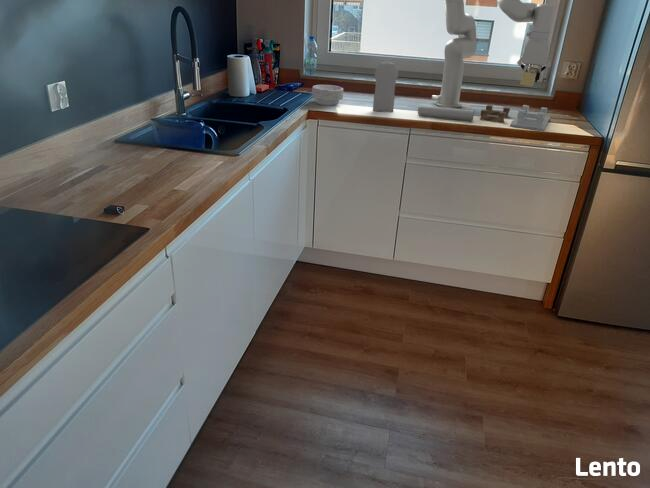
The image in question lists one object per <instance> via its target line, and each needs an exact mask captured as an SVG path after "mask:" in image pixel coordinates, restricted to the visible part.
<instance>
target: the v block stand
mask: <svg viewBox="0 0 650 488" xmlns="http://www.w3.org/2000/svg"><path fill="white" fill-rule="evenodd" d="M529 108H530V105H527V104H523V105H522V108H521V109H519V110H518V113H517V114H516V116H515V118H514V119H513V120H512V121H511V122H510V125H509V127H512V128H518V129H525V130H532V131H539V132H540V131H541V132H544V131H545V130H546V127H547V125H548V123H549V121H550V118H551V117H550V116H546V115H547V111H548V107H543V106H542V107H541V108H540V111H538V113H537V112H530V111H529Z"/></svg>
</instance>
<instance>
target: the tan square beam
mask: <svg viewBox="0 0 650 488" xmlns="http://www.w3.org/2000/svg"><path fill="white" fill-rule="evenodd" d="M537 71H538V66H535V65H529V68H528V72H526V71H523V72H522V75H521V79H520V82H519V85H521V86H527V87H531V88H532V87H533V85H534V83H535V78H536V73H537ZM541 74H542V72H541V73H540V75H541Z"/></svg>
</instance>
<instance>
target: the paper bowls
mask: <svg viewBox="0 0 650 488" xmlns="http://www.w3.org/2000/svg"><path fill="white" fill-rule="evenodd" d="M311 90H312V91H311V97H312V98H313V99H315V101H316V103H317V104H318V105H322V106H336V105H337V104H338V103H339V101H341V100H343V98H344V87H341V86H340V85H339V86H338V85H332V84H316V85H312V88H311Z"/></svg>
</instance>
